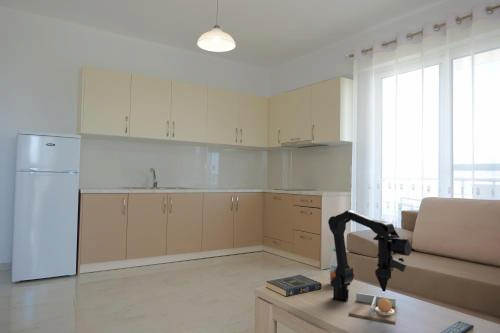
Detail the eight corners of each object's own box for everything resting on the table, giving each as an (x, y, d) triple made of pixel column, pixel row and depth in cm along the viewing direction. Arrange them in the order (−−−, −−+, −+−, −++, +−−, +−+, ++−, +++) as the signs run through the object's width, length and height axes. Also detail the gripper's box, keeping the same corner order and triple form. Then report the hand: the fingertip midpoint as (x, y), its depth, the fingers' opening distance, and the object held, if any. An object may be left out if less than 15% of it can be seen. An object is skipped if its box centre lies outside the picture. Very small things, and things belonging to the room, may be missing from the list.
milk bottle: (326, 283, 188) (327, 246, 189) (338, 282, 191) (338, 246, 192) (335, 287, 181) (336, 249, 182) (347, 286, 184) (347, 248, 185)
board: (348, 315, 144) (348, 304, 144) (355, 302, 160) (355, 292, 160) (395, 324, 136) (395, 312, 136) (396, 309, 152) (396, 298, 152)
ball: (377, 314, 145) (376, 303, 143) (378, 304, 150) (377, 294, 148) (391, 316, 143) (391, 306, 141) (392, 307, 147) (391, 296, 145)
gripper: (405, 258, 135) (404, 297, 135) (405, 249, 152) (405, 285, 152) (375, 254, 140) (375, 293, 139) (379, 247, 157) (379, 281, 156)
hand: (384, 288), depth 147 cm, fingers open, 9 cm apart
